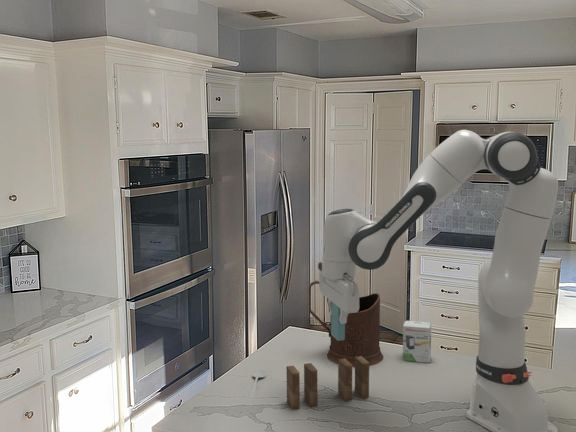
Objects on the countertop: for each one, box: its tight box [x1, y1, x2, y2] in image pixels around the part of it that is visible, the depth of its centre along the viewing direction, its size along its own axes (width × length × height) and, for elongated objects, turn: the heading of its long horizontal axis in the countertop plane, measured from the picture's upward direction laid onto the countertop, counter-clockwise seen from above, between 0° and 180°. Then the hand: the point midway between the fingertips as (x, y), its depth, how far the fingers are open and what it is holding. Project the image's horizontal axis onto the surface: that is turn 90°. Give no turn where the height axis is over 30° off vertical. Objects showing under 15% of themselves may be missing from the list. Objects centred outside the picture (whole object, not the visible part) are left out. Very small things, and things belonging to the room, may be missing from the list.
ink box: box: [402, 320, 432, 364], centre depth 184 cm, size 9×5×12 cm, turn 73°
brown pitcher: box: [308, 280, 384, 368], centre depth 187 cm, size 18×24×25 cm
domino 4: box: [337, 358, 353, 402], centre depth 159 cm, size 2×5×10 cm, turn 17°
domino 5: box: [354, 356, 370, 400], centre depth 160 cm, size 2×5×10 cm, turn 18°
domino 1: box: [286, 365, 301, 410], centre depth 154 cm, size 2×5×10 cm, turn 18°
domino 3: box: [330, 302, 345, 341], centre depth 157 cm, size 2×5×10 cm, turn 17°
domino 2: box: [303, 362, 319, 408], centre depth 156 cm, size 2×5×10 cm, turn 17°
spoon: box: [248, 367, 267, 399], centre depth 167 cm, size 4×21×2 cm, turn 174°
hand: (338, 319), depth 157 cm, fingers closed on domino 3, 5 cm apart
